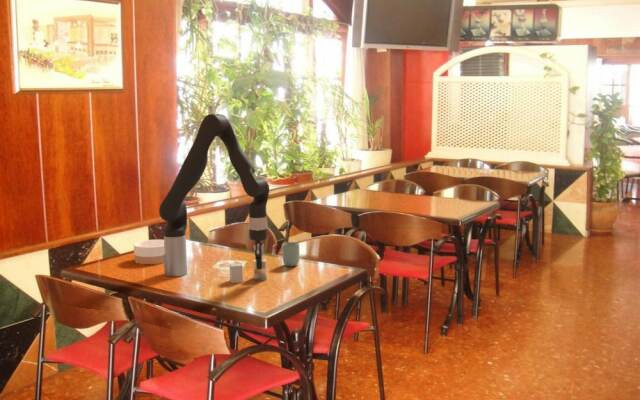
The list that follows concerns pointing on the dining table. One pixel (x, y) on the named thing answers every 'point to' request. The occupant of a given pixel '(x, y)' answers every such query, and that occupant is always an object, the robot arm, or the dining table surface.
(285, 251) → the cup
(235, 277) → the grey block
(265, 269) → the blue canister
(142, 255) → the bowl
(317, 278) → the dining table surface
